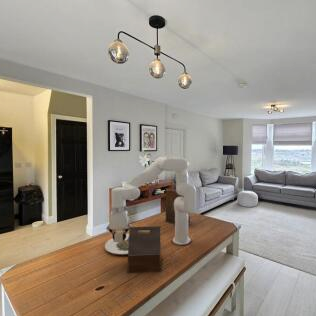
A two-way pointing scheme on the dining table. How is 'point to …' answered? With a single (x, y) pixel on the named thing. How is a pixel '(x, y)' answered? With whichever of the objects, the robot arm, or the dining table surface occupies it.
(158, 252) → the lid
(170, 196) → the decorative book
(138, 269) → the chest
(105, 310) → the dining table surface
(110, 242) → the plated food
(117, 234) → the block
